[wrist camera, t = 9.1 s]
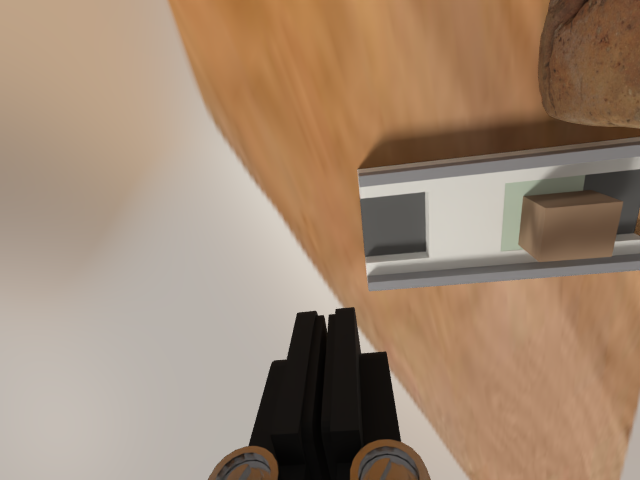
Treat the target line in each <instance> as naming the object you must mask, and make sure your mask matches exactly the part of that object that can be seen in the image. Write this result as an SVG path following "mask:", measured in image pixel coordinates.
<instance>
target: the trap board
mask: <svg viewBox="0 0 640 480" xmlns="http://www.w3.org/2000/svg"><path fill="white" fill-rule="evenodd" d="M357 170H358V181H359V193H360V204H361V215H362V227H363V238H364V250H365V261H366V272H367V281H368V289H369V291H379V290H391V289H404V288H417V287H430V286H443V285H456V284H469V283H482V282H495V281H508V280H520V279H533V278H546V277H559V276H572V275H585V274H598V273H611V272H624V271H636V270H640V236H639V235H637V234H635V233H634V231H635V226H636V222H637V217H638V213H639V208H640V137H634V138H625V139H617V140H608V141H599V142H591V143H582V144H573V145H565V146H556V147H547V148H539V149H530V150H521V151H513V152H504V153H496V154H487V155H478V156H470V157H461V158H452V159H444V160H435V161H426V162H418V163H409V164H400V165H392V166H383V167H374V168H366V169H357ZM584 190H593V191H596V192H599V193H601V194H604V195H607V196H610V197H612V198H615V199H618V200H621V201H623V206H622V211H621V215H620V220H619V225H618V230H617V234H616V239H615V244H614V249H613V253H612V257H602V258H588V259H575V260H561V261H548V262H538V261H537V260H536V259H535V258H534V257H532V256H531V255H530V254H529V253H528V252H526V251H525V250H524V249H523V248H521V247H520V246H519V245H518V242H519V232H520V222H521V212H522V202H523V196H530V195H541V194H552V193H562V192H573V191H584Z"/></svg>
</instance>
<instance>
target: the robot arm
mask: <svg viewBox="0 0 640 480" xmlns="http://www.w3.org/2000/svg"><path fill="white" fill-rule="evenodd" d="M208 480H431V479H430V476H429V474H428V471H427V468H426V466H425V464H424V462H423V461H422V459H421V457H420V456H419V455H418V454H417V453H416V452H415V451H414V450H413V449H412V448H411V447H409V446H407V445H406V444H404V443H402V442H401V439H400V432H399V426H398V420H397V414H396V408H395V401H394V395H393V390H392V383H391V377H390V370H389V364H388V358H387V353H386V352H375V353H363V354H361V350H360V342H359V335H358V328H357V321H356V314H355V308H354V307H351V308H341V309H336V311H335V314H332V315H329V320H328V333H327V328H326V323H325V318H324V315H320V316H318V314H317V312H316V311H310V312H300V313H297V316H296V320H295V325H294V329H293V334H292V338H291V343H290V348H289V352H288V356H287V360H276V361H273V362H272V364H271V367H270V370H269V374H268V378H267V381H266V385H265V388H264V392H263V396H262V399H261V403H260V406H259V410H258V413H257V417H256V421H255V424H254V428H253V432H252V435H251V439H250V443H249V446H246V447H243V448H240V449H237V450H235V451H233V452H232V453H230V454H229V455H227V456H225V457H224V458H223V459H222V460H221V461H220V462H219V463H218V464H217V465H216V467H215V468H214V470H213V472H212V473H211V475H210V476H209V478H208Z"/></svg>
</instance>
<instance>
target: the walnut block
mask: <svg viewBox="0 0 640 480" xmlns="http://www.w3.org/2000/svg"><path fill="white" fill-rule="evenodd" d="M622 206H623V201H621V200H618V199H615V198H612V197H610V196H607V195H604V194H601V193H599V192H596V191H593V190H584V191H573V192H562V193H552V194H541V195H530V196H523V202H522V212H521V222H520V232H519V242H518V245H519V246H520V247H521V248H523V249H524V250H525V251H526V252H528V253H529V254H530V255H531V256H532V257H534V258H535V259H536V260H537V261H538V262H548V261H561V260H575V259H588V258H602V257H612V253H613V249H614V244H615V239H616V234H617V230H618V225H619V220H620V215H621V211H622Z"/></svg>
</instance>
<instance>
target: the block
mask: <svg viewBox="0 0 640 480" xmlns="http://www.w3.org/2000/svg"><path fill="white" fill-rule="evenodd" d="M538 78H539V88H540V93H541V96H542V104H543V106H544V108H545V110H546V112H547V113H548V115H549V116H551V117H553V118H556V119H559V120H563V121H566V122H570V123H577V124H583V125H590V126H606V127H620V126H622V127H631V128H640V0H550V3H549V9H548V14H547V16H546V20H545V24H544V28H543V32H542V35H541V40H540V50H539V65H538Z"/></svg>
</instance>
